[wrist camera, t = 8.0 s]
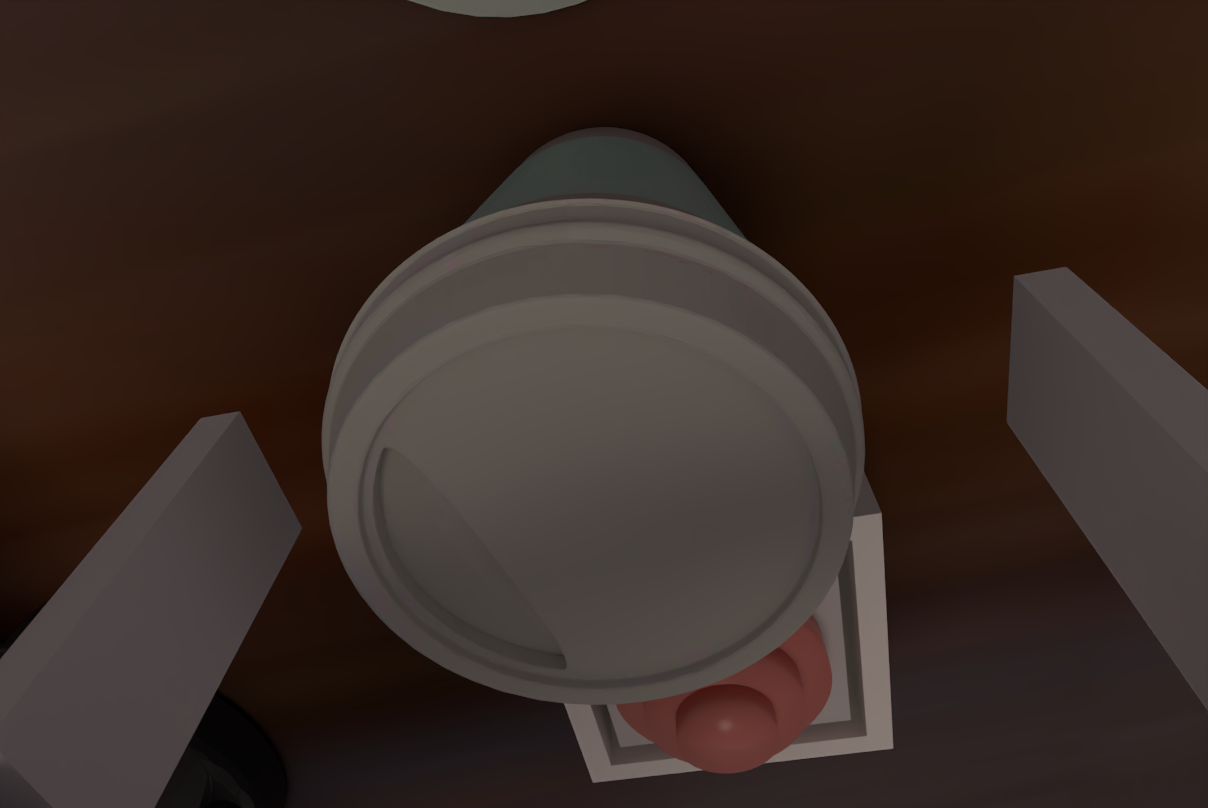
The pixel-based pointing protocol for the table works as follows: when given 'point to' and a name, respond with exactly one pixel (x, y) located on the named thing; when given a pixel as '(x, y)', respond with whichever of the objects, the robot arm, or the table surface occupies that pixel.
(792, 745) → the popper housing
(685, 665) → the coffee cup
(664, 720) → the dome plunger
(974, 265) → the table surface
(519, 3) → the pad
